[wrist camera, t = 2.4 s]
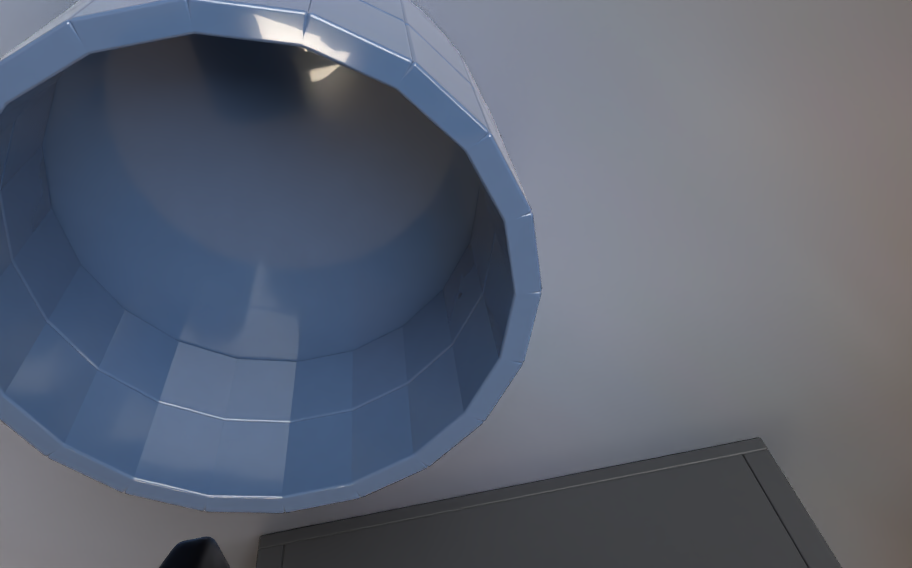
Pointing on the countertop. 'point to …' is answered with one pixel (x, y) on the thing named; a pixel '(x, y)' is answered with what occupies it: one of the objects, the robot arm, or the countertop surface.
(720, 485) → the tote
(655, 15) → the countertop surface
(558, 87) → the countertop surface
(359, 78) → the rice bowl
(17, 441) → the countertop surface
